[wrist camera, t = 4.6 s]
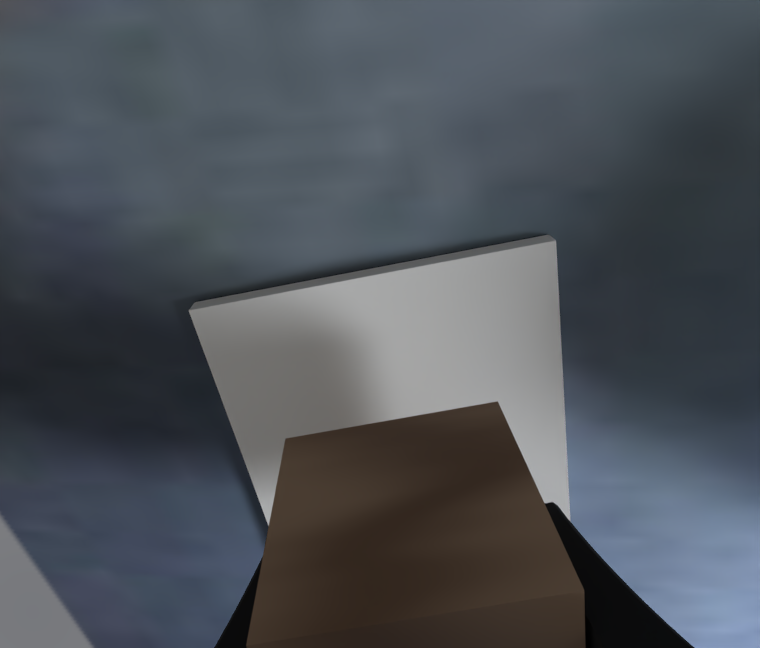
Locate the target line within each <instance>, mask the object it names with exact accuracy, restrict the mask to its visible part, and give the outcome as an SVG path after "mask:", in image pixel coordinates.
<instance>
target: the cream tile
mask: <svg viewBox="0 0 760 648" xmlns="http://www.w3.org/2000/svg"><path fill="white" fill-rule="evenodd" d="M189 313H190V316H191V319H192V321H193V324H194V327H195V329H196V332H197V335H198V337H199V340H200V343H201V346H202V348H203V351H204V354H205V356H206V359H207V362H208V364H209V367H210V370H211V372H212V375H213V378H214V381H215V383H216V386H217V389H218V391H219V394H220V397H221V399H222V402H223V405H224V407H225V410H226V413H227V416H228V418H229V421H230V424H231V426H232V429H233V432H234V434H235V437H236V440H237V442H238V445H239V448H240V451H241V453H242V456H243V459H244V461H245V464H246V467H247V469H248V472H249V475H250V477H251V480H252V483H253V486H254V488H255V491H256V494H257V496H258V499H259V502H260V504H261V507H262V510H263V512H264V515H265V518H266V521H267V523H268V526H269V522H270V517H271V512H272V506H273V501H274V496H275V490H276V485H277V480H278V475H279V469H280V464H281V459H282V453H283V448H284V443H285V439H286V438H291V437H297V436H303V435H308V434H314V433H320V432H326V431H331V430H337V429H343V428H348V427H354V426H360V425H365V424H371V423H377V422H383V421H388V420H394V419H400V418H405V417H411V416H417V415H422V414H428V413H434V412H440V411H445V410H451V409H457V408H462V407H468V406H474V405H480V404H485V403H491V402H497V401H498V403H499V405H500V407H501V409H502V412H503V414H504V416H505V418H506V420H507V423H508V425H509V427H510V429H511V431H512V434H513V436H514V438H515V440H516V442H517V444H518V447H519V449H520V451H521V453H522V455H523V458H524V460H525V462H526V464H527V466H528V468H529V471H530V473H531V475H532V477H533V479H534V482H535V484H536V486H537V488H538V490H539V493H540V495H541V497H542V499H543V501H544V503H550V502H553V503H555V504H556V505H558V506H559V508H560V509H561V510H562V512H563V513H564V514H565V516H566V517H567V518H568V519H569V521H570V505H569V485H568V465H567V445H566V426H565V406H564V386H563V367H562V347H561V327H560V307H559V288H558V268H557V248H556V240H555V239H554V238H552V237H551V236H550V235H544V236H538V237H533V238H528V239H523V240H518V241H512V242H507V243H502V244H497V245H491V246H486V247H481V248H476V249H471V250H465V251H460V252H455V253H450V254H444V255H439V256H434V257H429V258H424V259H418V260H413V261H408V262H403V263H397V264H392V265H387V266H382V267H376V268H371V269H366V270H361V271H356V272H350V273H345V274H340V275H335V276H329V277H324V278H319V279H314V280H309V281H303V282H298V283H293V284H288V285H282V286H277V287H272V288H267V289H262V290H256V291H251V292H246V293H241V294H235V295H230V296H225V297H220V298H214V299H209V300H204V301H199V302H195V303H194V304H193V305H192V307H191V308H190V309H189Z"/></svg>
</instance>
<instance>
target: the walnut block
mask: <svg viewBox="0 0 760 648" xmlns="http://www.w3.org/2000/svg"><path fill="white" fill-rule="evenodd" d="M246 647H247V648H585V599H584V589H583V586H582V584H581V582H580V580H579V578H578V576H577V573H576V571H575V569H574V567H573V565H572V562H571V560H570V558H569V556H568V554H567V552H566V549H565V547H564V545H563V543H562V541H561V538H560V536H559V534H558V532H557V530H556V527H555V525H554V523H553V521H552V519H551V517H550V514H549V512H548V510H547V508H546V506H545V503H544V501H543V499H542V497H541V495H540V493H539V490H538V488H537V486H536V484H535V482H534V479H533V477H532V475H531V473H530V471H529V468H528V466H527V464H526V462H525V460H524V458H523V455H522V453H521V451H520V449H519V447H518V444H517V442H516V440H515V438H514V436H513V434H512V431H511V429H510V427H509V425H508V423H507V420H506V418H505V416H504V414H503V412H502V409H501V407H500V405H499V403H498V401H497V402H491V403H485V404H480V405H474V406H468V407H462V408H457V409H451V410H445V411H440V412H434V413H428V414H422V415H417V416H411V417H405V418H400V419H394V420H388V421H383V422H377V423H371V424H365V425H360V426H354V427H348V428H343V429H337V430H331V431H326V432H320V433H314V434H308V435H303V436H297V437H291V438H286V439H285V443H284V448H283V453H282V459H281V464H280V469H279V475H278V480H277V485H276V490H275V496H274V501H273V506H272V512H271V517H270V522H269V527H268V533H267V538H266V543H265V549H264V554H263V559H262V564H261V570H260V575H259V580H258V586H257V591H256V596H255V601H254V607H253V612H252V617H251V623H250V628H249V633H248V638H247V644H246Z"/></svg>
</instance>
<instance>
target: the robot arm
mask: <svg viewBox="0 0 760 648" xmlns="http://www.w3.org/2000/svg"><path fill="white" fill-rule="evenodd" d="M545 506H546V508H547V510H548V512H549V514H550V517H551V519H552V521H553V523H554V525H555V527H556V530H557V532H558V534H559V536H560V538H561V541H562V543H563V545H564V547H565V549H566V552H567V554H568V556H569V558H570V560H571V562H572V565H573V567H574V569H575V571H576V573H577V576H578V578H579V580H580V582H581V584H582V586H583V589H584V599H585V648H694V647H693V646H692V645H690V644H689V643H688V642H687V641H686V640H685V639H684V638H683V637H681V636H680V635H679V634H678V633H677V632H676V631H675V630H674V629H673V628H671V627H670V626H669V625H668V624H667V623H666V622H665V621H664V620H663V619H662V618H661V617H660V616H659V615H658V614H656V613H655V612H654V611H653V610H652V609H651V608H650V607H649V606H648V605H647V604H646V603H645V602H644V601H643V600H642V599H641V598H640V597H639V596H638V595H637V594H636V593H635V592H634V591H633V590H632V589H631V588H630V587H629V586H628V585H627V584H626V583H625V582H624V581H623V580H622V579H621V578H620V577H619V576H618V575H617V574H616V573H615V572H614V571H613V570H612V568H611V567H610V566H609V565H608V564H607V563H606V562H605V561H604V560H603V559H602V558H601V557H600V556H599V554H598V553H597V552H596V551H595V550H594V549H593V548H592V547H591V545H590V544H589V543H588V542H587V541H586V540H585V539H584V537H583V536H582V535H581V534H580V533H579V532H578V530H577V529H576V528H575V527H574V526H573V524H572V523H571V522H570V521H569V519H568V518H567V517H566V516H565V514H564V513H563V512H562V510H561V509H560V508H559V506H558V505H556V504H555V503H553V502H550V503H545ZM262 559H263V557H262ZM262 559H261V561H260V563H259V565H258V567H257V569H256V571H255V573H254V575H253V577H252V579H251V581H250V583H249V585H248V587H247V589H246V591H245V593H244V595H243V597H242V598H241V600H240V602H239V604H238V606H237V608H236V610H235V612H234V614H233V615H232V617H231V619H230V621H229V623H228V624H227V626H226V628H225V630H224V631H223V633H222V635H221V637H220V639H219V640H218V642H217V644H216V646H215V647H214V648H247V647H246V644H247V638H248V633H249V628H250V623H251V617H252V612H253V607H254V601H255V596H256V591H257V586H258V580H259V575H260V570H261V564H262Z"/></svg>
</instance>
